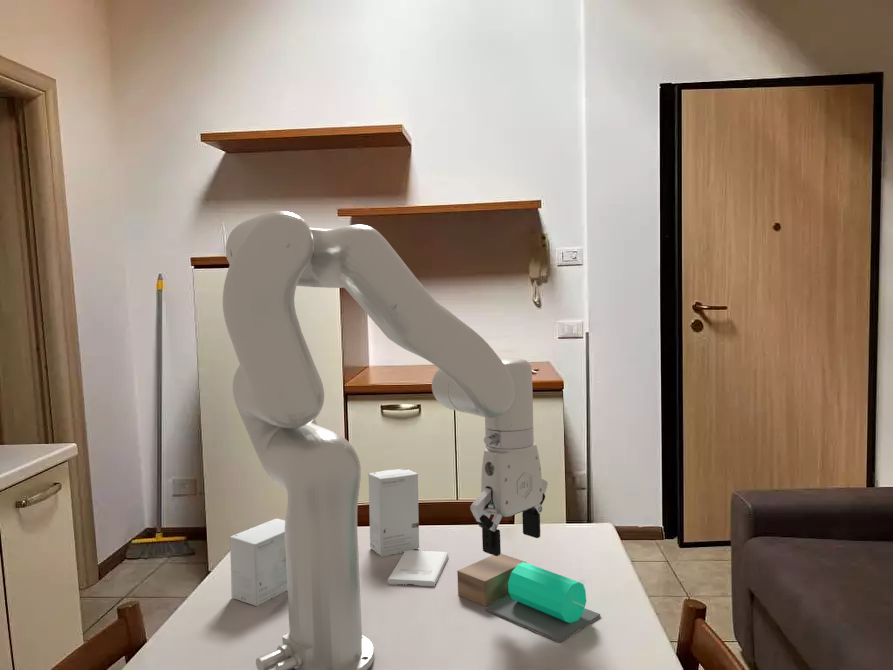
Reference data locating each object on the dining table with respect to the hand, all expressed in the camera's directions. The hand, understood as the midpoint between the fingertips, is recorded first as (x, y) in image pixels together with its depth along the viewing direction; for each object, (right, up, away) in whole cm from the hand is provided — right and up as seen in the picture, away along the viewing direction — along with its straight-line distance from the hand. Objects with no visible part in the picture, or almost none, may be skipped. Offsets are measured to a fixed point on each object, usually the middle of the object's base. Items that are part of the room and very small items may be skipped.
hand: (512, 544), depth 108 cm
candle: (+1, -6, -1) cm, 6 cm away
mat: (+4, -9, -5) cm, 11 cm away
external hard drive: (-15, -9, +13) cm, 22 cm away
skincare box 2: (-20, -8, +23) cm, 32 cm away
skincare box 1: (-40, -10, +7) cm, 42 cm away
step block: (-3, -9, +4) cm, 10 cm away
